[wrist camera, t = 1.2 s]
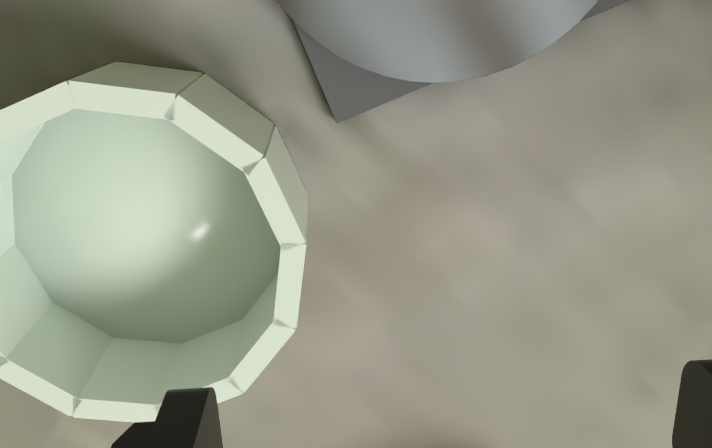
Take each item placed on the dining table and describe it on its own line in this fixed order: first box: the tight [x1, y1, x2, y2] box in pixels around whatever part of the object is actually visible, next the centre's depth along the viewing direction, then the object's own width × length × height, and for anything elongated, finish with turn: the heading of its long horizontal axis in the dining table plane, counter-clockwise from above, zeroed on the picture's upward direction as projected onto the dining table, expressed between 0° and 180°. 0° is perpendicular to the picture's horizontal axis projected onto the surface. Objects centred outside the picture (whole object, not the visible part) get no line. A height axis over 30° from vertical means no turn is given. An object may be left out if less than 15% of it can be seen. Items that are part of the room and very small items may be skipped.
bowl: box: [0, 62, 309, 422], centre depth 29 cm, size 15×15×6 cm
